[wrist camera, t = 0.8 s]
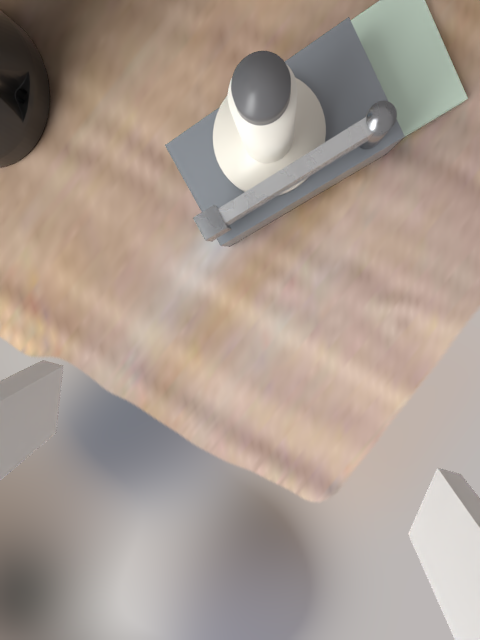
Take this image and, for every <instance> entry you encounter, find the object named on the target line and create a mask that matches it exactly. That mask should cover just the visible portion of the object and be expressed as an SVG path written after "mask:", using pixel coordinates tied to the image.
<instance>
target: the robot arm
mask: <svg viewBox="0 0 480 640" xmlns="http://www.w3.org/2000/svg"><path fill="white" fill-rule="evenodd" d="M49 102H50V93H49V83H48V77H47V73H46V69H45V66H44V63H43V60H42V58H41V56H40V54H39V52H38V50H37V48H36V46H35V45H34V43H33V42H32V40H31V39H30V37H29V36H28V35H27V34H26V33H25V31H24V30H23V29H22V28H21V27H19V26H18V25H17V24H16V23H15V22H14V21H13V20H11V19H10V18H9V17H8V16H7V15H5V14H4V13H3V12H2V11H1V10H0V167H5V166H8V165H11V164H13V163H15V162H17V161H19V160H21V159H22V158H23V157H25V156H26V155H27V154H28V153H29V152H30V151H31V150H32V149H33V148H34V146H35V145H36V143H37V142H38V140H39V139H40V137H41V135H42V133H43V130H44V128H45V125H46V121H47V117H48V112H49ZM62 373H63V366H62V365H59V364H55V363H51V362H47V361H44V360H43V361H40V362H38V363H36V364H34V365H32V366H30V367H28V368H26V369H24V370H22V371H20V372H18V373H16V374H14V375H12V376H10V377H8V378H6V379H4V380H1V381H0V480H1V479H2V478H3V477H4V476H6V475H7V474H8V473H9V472H11V471H12V470H13V469H14V468H15V467H16V466H18V465H19V464H20V463H21V462H22V461H24V460H25V459H26V458H27V457H28V456H30V455H31V454H32V453H33V452H34V451H35V450H37V449H38V448H39V447H40V446H41V445H43V444H44V443H45V442H46V441H47V440H49V439H50V438H51V437H52V436H53V435H54V434H56V428H57V419H58V410H59V401H60V391H61V382H62ZM408 535H409V537H410V539H411V541H412V544H413V546H414V548H415V551H416V553H417V555H418V557H419V560H420V562H421V564H422V566H423V569H424V571H425V573H426V576H427V578H428V580H429V582H430V585H431V587H432V589H433V591H434V594H435V596H436V598H437V601H438V603H439V605H440V607H441V609H442V612H443V614H444V616H445V619H446V621H447V623H448V625H449V627H450V630H451V632H452V634H453V637H454V639H455V640H480V498H479V497H478V495H477V494H476V493H475V492H474V490H473V489H472V488H471V486H470V485H469V484H468V483H467V481H466V480H465V479H464V478H463V476H462V475H461V474H458V473H454V472H451V471H447V470H443V469H440V468H437V470H436V472H435V475H434V477H433V479H432V481H431V484H430V486H429V488H428V490H427V493H426V495H425V497H424V499H423V502H422V504H421V506H420V508H419V511H418V513H417V515H416V517H415V520H414V522H413V524H412V527H411V529H410V531H409V533H408Z"/></svg>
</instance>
